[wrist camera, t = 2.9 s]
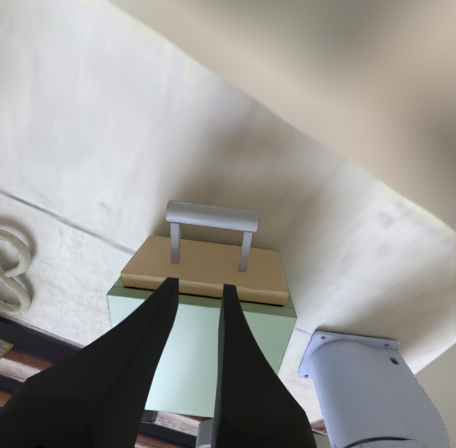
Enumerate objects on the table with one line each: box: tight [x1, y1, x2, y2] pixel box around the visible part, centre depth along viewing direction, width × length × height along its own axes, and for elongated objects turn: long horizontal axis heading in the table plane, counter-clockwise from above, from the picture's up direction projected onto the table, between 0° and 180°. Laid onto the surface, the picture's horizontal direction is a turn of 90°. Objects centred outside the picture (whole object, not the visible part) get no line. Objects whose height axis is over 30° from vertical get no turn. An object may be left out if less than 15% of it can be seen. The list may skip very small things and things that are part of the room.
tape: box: [196, 419, 213, 448], centre depth 34 cm, size 5×5×3 cm
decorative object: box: [0, 230, 31, 314], centre depth 23 cm, size 11×1×5 cm
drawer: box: [121, 200, 289, 306], centre depth 19 cm, size 17×11×5 cm, turn 174°
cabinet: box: [106, 257, 297, 418], centre depth 21 cm, size 14×13×7 cm
